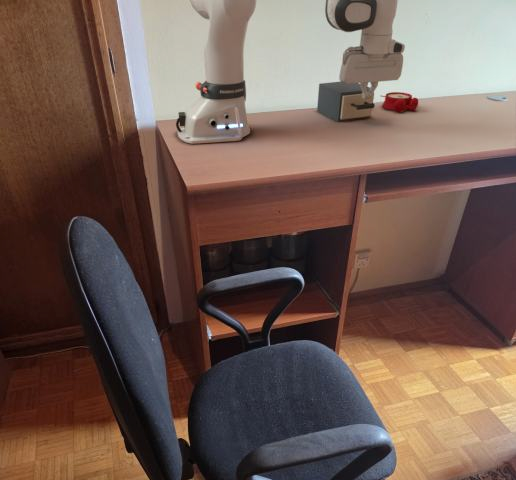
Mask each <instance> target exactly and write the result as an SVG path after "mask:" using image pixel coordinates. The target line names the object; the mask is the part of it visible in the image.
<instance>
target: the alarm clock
mask: <svg viewBox="0 0 516 480" xmlns="http://www.w3.org/2000/svg"><path fill="white" fill-rule="evenodd" d="M382 97H383V98H384V101H383V103H382V104H381V107H382V108H383V109H385V110H390V111H394V112H395V113H398V114H399V113H403V112H405V111H410V112H414V111H416V109H418V107H419V99H418V98H417V97H413V94H410V93H408V92H399V91H392V92H388V93H385V95H381V98H382Z"/></svg>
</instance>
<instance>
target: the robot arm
mask: <svg viewBox="0 0 516 480" xmlns="http://www.w3.org/2000/svg"><path fill="white" fill-rule="evenodd" d="M189 1H190V4H191V6H192V8H193V10H194V11H195V12H196V13H198V15H199V16H200V17H202V18H203V19H205V20H207V21H209V27H208V36H207V41H206V44H205V46H204V49H203V52H204V53H203V55H204V56H203V57H204V69H205V81H203V83H201V82H200V81H196V83H195V84H194V87H195V89H196V90H198V91H199V92H200V96H199V98H197V100H195V102H194V103H193V104H192V105H191V106H189V108H187V110H185V111H179V112H178V117H177V119H176V122H175V127H176V129H177V137H178V138H179V139H180V140H181V141H182V142H185V143H187V144H191V145H194V144H195V145H196V144H210V143H223V142H238V141H239V142H240V141H241V140H242V139H243V138H244V137H246V136H248V135H249V134H250V133H251V129H250V124H249V120H248V116H247V108H246V107H247V106H246V101H247V86H246V80H245V69H244V68H245V65H244V64H245V63H244V60H245V57H244V55H245V53H244V52H245V51H244V50H245V41H246V36H247V31H248V27H249V22H250V20H251V18H252V16H253V15H254V12H255V10H256V6H257V0H189ZM398 3H399V0H325V7H324V13H325V18H326V21H327V23H328V24H329V26H330V27H332V28H333V29H335V30H337V31H342V32H344V33H353V32H356V31H361V33H360V41H359V46H358V45H357V46H348V48H346V49H345V50H344V51H343V53H342V59H341V60H342V62H341V66H340V70H339V77H338V79H339V82H342V83H344V84H353V83H359V84H360V87H361V89H362V98H363V99H366V98H372V97H373V92H374V93H375V91H376V90H377V88H378V86H379V82H390V81H399V79H400V78H401V76H402V71H403V66H404V54H403V53H404V52H405V48H406V45H405V44H404V43H401V42H399V41H397V40H395V39H392V37H393V33H394V32H393V31H394V30H393V24H394V20H395V18H396V15H397V8H398ZM369 83H370V86H369ZM366 86H367V87H370V89H369V91H367V89H366Z"/></svg>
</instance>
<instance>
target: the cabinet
mask: <svg viewBox="0 0 516 480" xmlns="http://www.w3.org/2000/svg"><path fill="white" fill-rule="evenodd" d="M370 87H371V86H366V89H367V91H369V89H370ZM317 93H318V94H317V107H316V108H317V109H316V111H317V112H318V113H320V114H322V115H324V116H326V117H328V118H330V119H331V120H333V121H335V122H338V123H339V122H346V121H354V120H362V119H370V118H371V116H365V117H358V118H350V119H340V113H341V104H342V96H343V95H349V94H358V93H362V89H361V87H360V83H353V84H344V83H342V82H341V81H331V82H321V83H319V84H318V92H317ZM373 93H374V94H375V91H374V92H373Z"/></svg>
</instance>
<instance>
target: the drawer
mask: <svg viewBox="0 0 516 480" xmlns="http://www.w3.org/2000/svg"><path fill="white" fill-rule="evenodd" d="M374 99H375V92H374V93H373V97H372V98H366V99H363V98H362V93H358V94H349V95H343V96H342V104H341V113H340V119H350V118H358V117H365V116H370V117H372V112H373V109H374V108H375V107H376V106H375V105H376V104H375V103H374Z"/></svg>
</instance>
